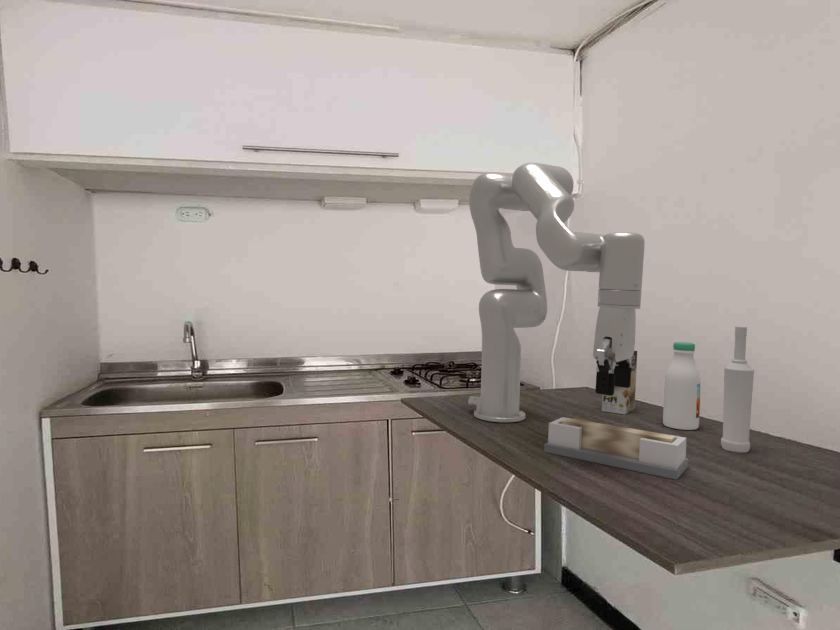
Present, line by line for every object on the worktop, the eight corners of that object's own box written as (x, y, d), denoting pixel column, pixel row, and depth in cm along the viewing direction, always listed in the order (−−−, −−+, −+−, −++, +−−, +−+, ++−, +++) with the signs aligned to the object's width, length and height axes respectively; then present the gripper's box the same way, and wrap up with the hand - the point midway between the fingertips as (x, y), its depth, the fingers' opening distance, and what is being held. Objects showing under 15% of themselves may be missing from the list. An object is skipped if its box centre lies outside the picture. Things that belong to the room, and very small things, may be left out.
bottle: (754, 454, 108) (760, 328, 107) (725, 451, 109) (731, 327, 108) (744, 446, 113) (750, 326, 112) (717, 444, 114) (722, 325, 113)
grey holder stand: (544, 451, 107) (544, 423, 106) (562, 442, 114) (563, 416, 113) (676, 479, 92) (678, 447, 92) (688, 466, 99) (689, 436, 99)
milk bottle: (690, 432, 124) (694, 345, 123) (656, 425, 130) (660, 342, 129) (704, 427, 129) (708, 343, 128) (671, 421, 135) (674, 340, 134)
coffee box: (626, 415, 140) (628, 353, 140) (601, 411, 144) (603, 351, 143) (635, 409, 148) (637, 350, 147) (611, 406, 152) (613, 348, 151)
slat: (561, 443, 107) (562, 420, 107) (567, 440, 110) (568, 417, 110) (670, 464, 95) (671, 439, 95) (674, 460, 98) (675, 435, 97)
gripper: (613, 298, 111) (608, 381, 112) (582, 299, 97) (576, 394, 98) (652, 300, 106) (646, 387, 107) (625, 301, 92) (618, 401, 94)
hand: (613, 390), depth 103 cm, fingers open, 9 cm apart
